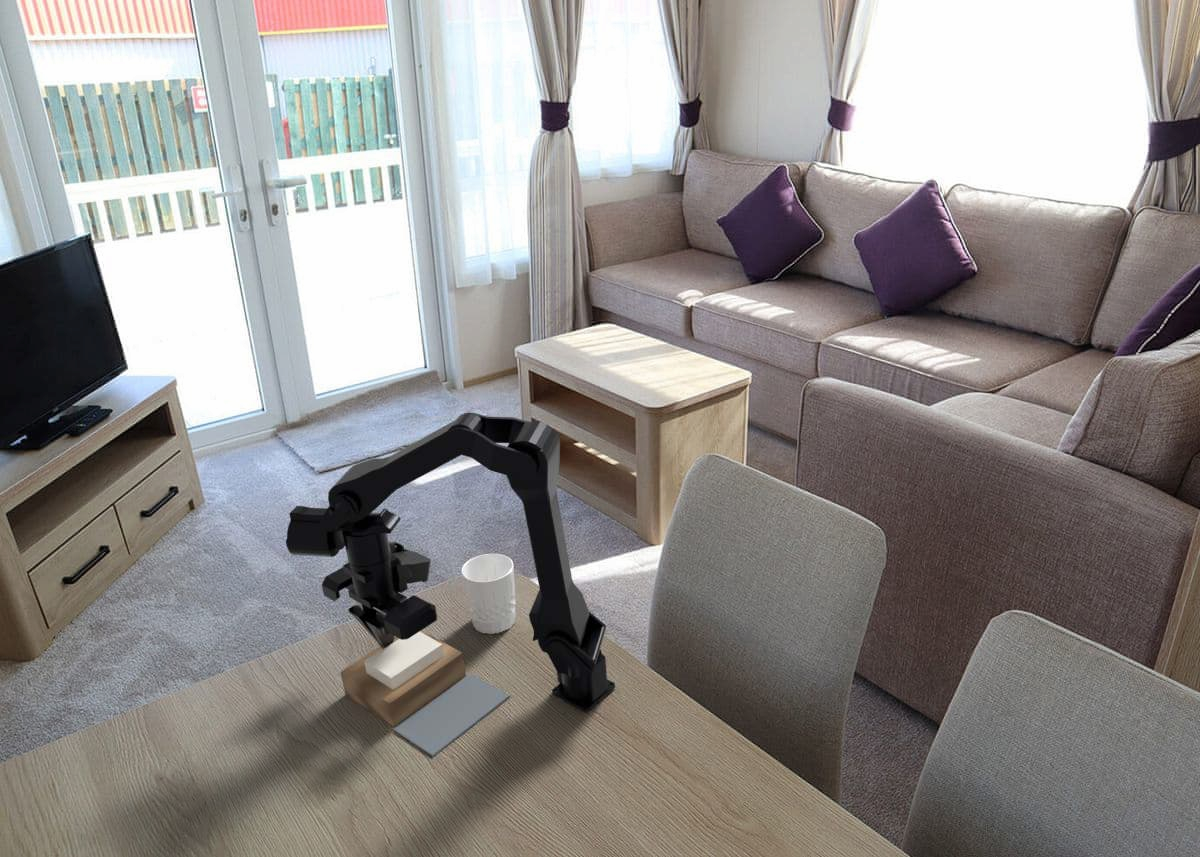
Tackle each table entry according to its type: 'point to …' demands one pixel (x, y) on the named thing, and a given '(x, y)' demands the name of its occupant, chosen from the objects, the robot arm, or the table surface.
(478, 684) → the mat
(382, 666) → the white sticky note pad
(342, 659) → the table surface
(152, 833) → the table surface
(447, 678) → the tan beveled block
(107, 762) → the table surface
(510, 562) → the white cup
